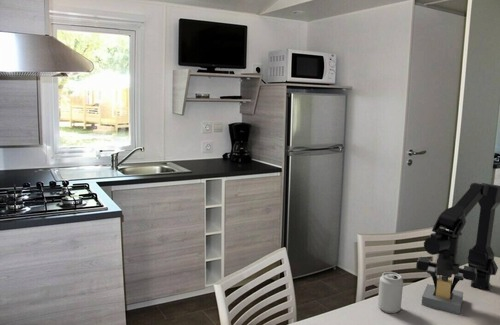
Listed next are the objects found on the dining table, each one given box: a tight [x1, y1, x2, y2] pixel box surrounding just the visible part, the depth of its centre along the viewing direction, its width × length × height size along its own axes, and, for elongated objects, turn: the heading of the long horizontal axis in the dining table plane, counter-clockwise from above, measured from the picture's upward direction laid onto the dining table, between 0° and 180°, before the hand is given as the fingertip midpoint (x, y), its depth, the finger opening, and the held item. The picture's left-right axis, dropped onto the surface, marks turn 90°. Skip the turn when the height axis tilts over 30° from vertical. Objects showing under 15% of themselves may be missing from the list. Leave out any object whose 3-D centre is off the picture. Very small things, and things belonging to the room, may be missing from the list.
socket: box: [421, 283, 464, 315], centre depth 155 cm, size 12×12×3 cm
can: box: [377, 271, 404, 314], centre depth 148 cm, size 8×8×12 cm
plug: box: [436, 276, 453, 299], centre depth 154 cm, size 4×4×8 cm
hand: (443, 291), depth 154 cm, fingers closed on plug, 4 cm apart
